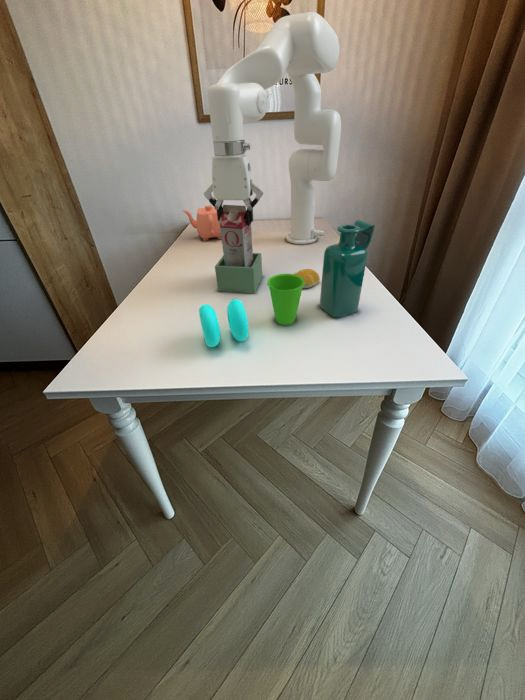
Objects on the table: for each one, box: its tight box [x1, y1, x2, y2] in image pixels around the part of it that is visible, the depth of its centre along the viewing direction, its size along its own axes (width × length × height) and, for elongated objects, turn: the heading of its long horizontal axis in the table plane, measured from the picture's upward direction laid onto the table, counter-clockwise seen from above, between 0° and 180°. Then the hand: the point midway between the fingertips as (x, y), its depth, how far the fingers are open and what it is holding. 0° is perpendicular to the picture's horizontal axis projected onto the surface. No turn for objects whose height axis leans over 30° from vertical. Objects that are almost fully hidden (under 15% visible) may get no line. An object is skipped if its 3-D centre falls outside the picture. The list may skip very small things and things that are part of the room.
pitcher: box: [319, 219, 376, 319], centre depth 78 cm, size 10×8×22 cm
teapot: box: [181, 204, 222, 242], centre depth 132 cm, size 15×17×13 cm
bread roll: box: [293, 268, 321, 289], centre depth 97 cm, size 8×9×4 cm
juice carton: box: [220, 204, 254, 267], centre depth 91 cm, size 7×7×22 cm
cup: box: [266, 273, 305, 326], centre depth 78 cm, size 9×9×11 cm
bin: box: [214, 252, 263, 294], centre depth 96 cm, size 12×12×8 cm
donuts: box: [198, 298, 250, 348], centre depth 72 cm, size 10×10×10 cm
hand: (235, 223), depth 87 cm, fingers closed on juice carton, 7 cm apart
